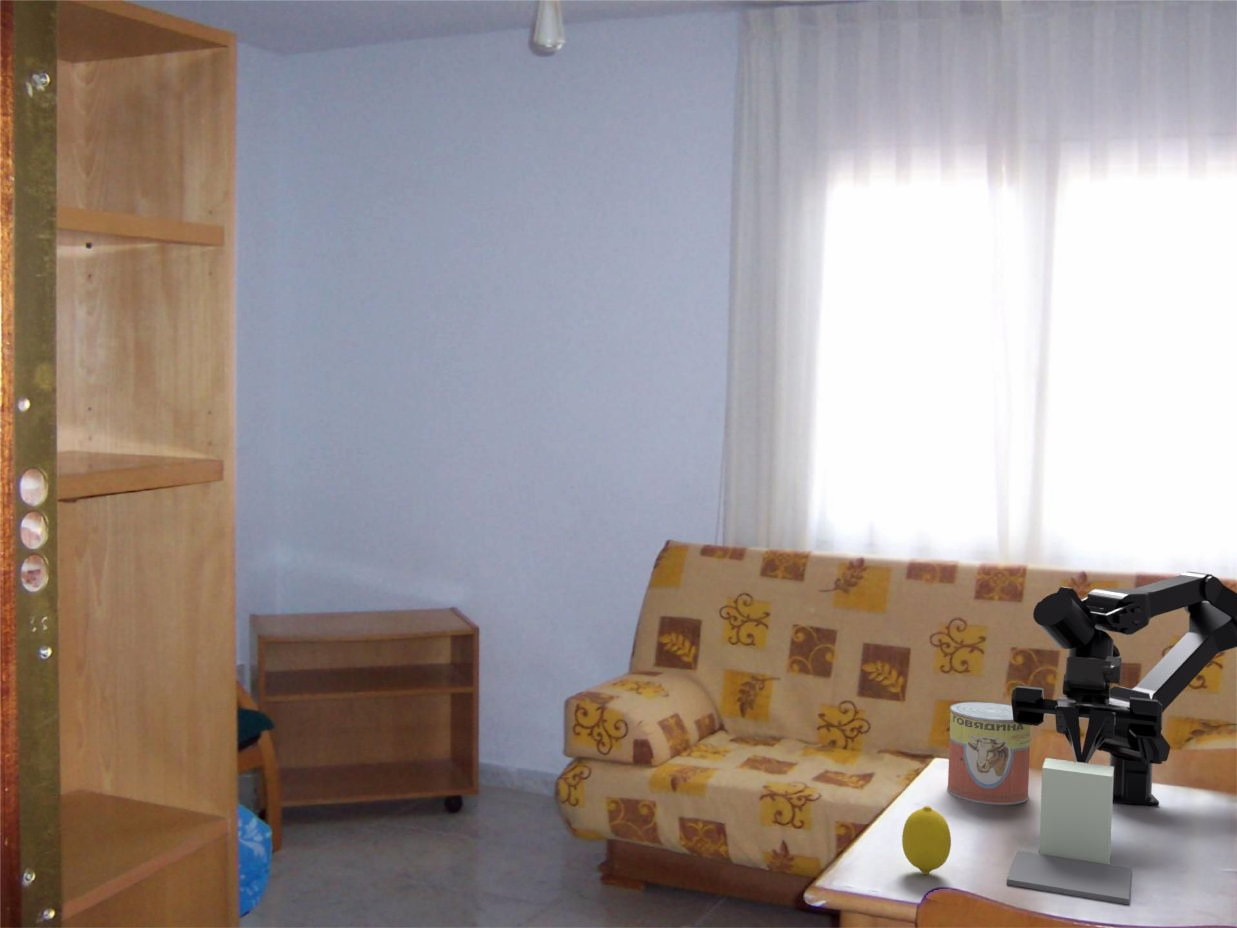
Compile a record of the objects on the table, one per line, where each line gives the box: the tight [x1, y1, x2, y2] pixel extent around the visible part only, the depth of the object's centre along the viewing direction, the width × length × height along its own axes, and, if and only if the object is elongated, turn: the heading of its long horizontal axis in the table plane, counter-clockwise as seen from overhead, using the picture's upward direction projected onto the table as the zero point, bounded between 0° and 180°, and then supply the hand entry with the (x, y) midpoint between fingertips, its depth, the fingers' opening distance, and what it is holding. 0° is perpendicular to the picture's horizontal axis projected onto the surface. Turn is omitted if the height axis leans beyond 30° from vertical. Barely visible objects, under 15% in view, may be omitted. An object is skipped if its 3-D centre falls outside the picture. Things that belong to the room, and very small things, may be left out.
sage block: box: [1038, 757, 1114, 864], centre depth 153 cm, size 5×8×11 cm, turn 66°
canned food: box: [946, 701, 1032, 806], centre depth 179 cm, size 11×11×12 cm
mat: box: [1006, 849, 1132, 905], centre depth 145 cm, size 11×13×1 cm
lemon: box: [901, 805, 952, 875], centre depth 145 cm, size 6×6×8 cm
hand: (1080, 766), depth 162 cm, fingers closed
